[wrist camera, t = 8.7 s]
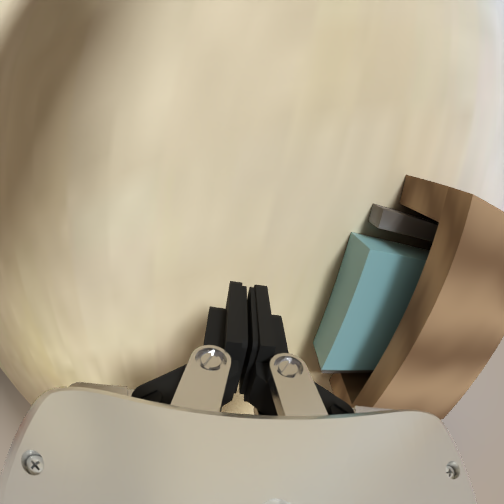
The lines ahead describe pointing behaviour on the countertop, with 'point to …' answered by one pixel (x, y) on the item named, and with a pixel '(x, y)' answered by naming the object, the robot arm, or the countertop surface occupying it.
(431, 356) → the shelf dock
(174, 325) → the countertop surface
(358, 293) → the pale blue foam block
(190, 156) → the countertop surface
